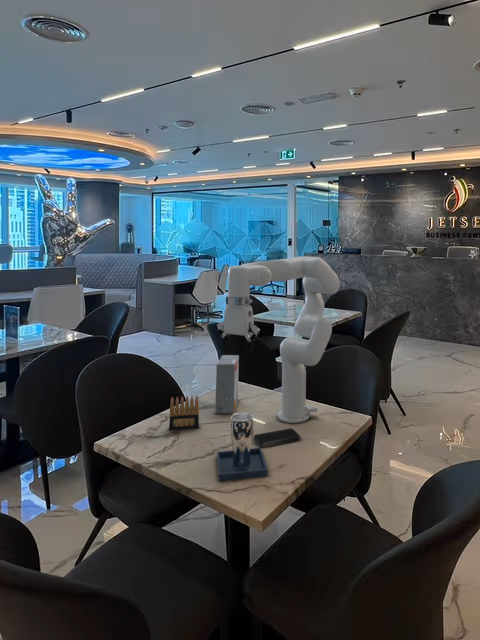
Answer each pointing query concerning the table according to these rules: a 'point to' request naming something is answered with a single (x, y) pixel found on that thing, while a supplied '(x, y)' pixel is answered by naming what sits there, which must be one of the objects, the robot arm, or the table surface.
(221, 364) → the hard drive box
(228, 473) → the tray
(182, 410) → the ammunition clip
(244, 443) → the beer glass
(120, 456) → the table surface
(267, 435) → the phone
